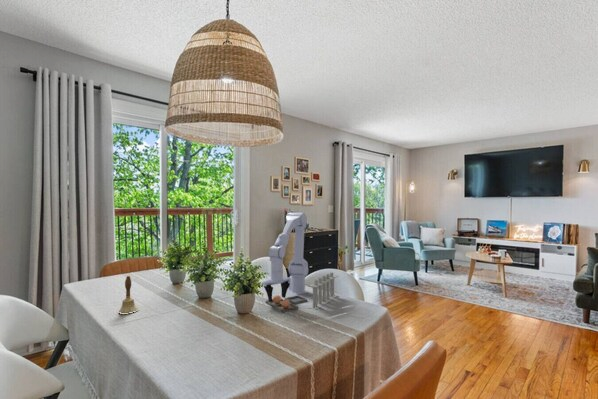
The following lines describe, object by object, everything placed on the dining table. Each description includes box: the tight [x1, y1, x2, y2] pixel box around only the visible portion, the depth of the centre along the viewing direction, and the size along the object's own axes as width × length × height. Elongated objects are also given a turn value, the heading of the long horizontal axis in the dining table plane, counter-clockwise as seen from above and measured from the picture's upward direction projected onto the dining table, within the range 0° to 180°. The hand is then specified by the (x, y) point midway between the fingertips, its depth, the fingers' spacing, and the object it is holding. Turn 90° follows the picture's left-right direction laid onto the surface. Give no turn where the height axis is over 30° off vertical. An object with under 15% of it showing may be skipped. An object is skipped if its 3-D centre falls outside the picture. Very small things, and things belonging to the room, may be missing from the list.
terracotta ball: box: [272, 294, 282, 304], centre depth 150 cm, size 4×4×4 cm
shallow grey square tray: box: [284, 294, 308, 305], centre depth 155 cm, size 8×8×2 cm
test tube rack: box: [308, 271, 339, 311], centre depth 154 cm, size 25×4×13 cm, turn 149°
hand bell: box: [118, 275, 139, 313], centre depth 141 cm, size 8×8×16 cm
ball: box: [281, 298, 290, 308], centre depth 144 cm, size 4×4×4 cm
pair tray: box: [265, 298, 299, 313], centre depth 147 cm, size 16×8×2 cm, turn 35°
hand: (276, 298), depth 150 cm, fingers open, 7 cm apart
